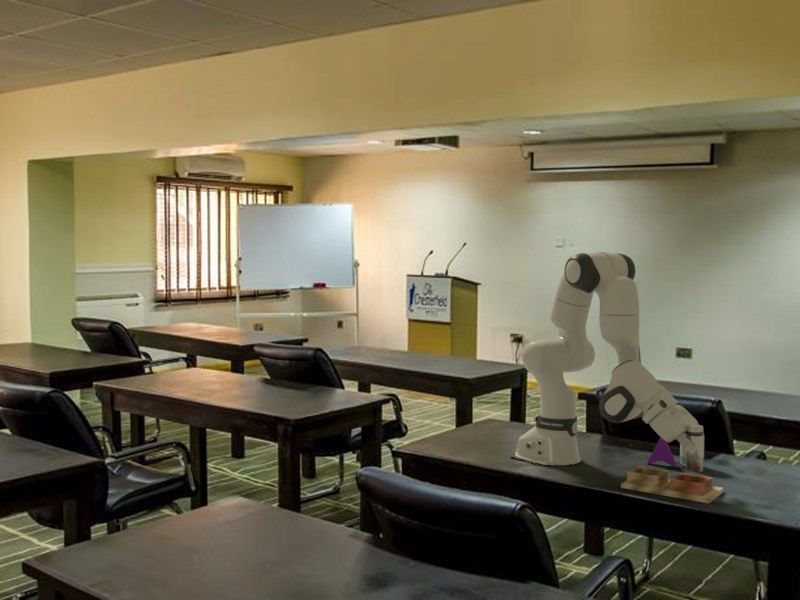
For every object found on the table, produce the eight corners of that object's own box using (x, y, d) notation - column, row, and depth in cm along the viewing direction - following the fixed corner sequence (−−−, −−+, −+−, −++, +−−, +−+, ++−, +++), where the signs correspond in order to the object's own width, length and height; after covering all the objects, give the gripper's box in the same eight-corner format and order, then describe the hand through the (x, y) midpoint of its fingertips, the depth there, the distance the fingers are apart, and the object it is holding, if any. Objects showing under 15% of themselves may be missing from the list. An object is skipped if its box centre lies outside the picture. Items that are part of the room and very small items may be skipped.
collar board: (620, 487, 222) (621, 472, 222) (638, 477, 232) (638, 463, 232) (709, 503, 207) (709, 487, 207) (723, 492, 218) (723, 476, 217)
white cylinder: (683, 470, 215) (683, 426, 214) (688, 466, 218) (688, 423, 218) (700, 472, 212) (700, 428, 212) (705, 469, 216) (705, 425, 215)
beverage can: (675, 466, 245) (676, 428, 244) (686, 462, 249) (687, 425, 248) (696, 471, 239) (697, 432, 239) (707, 467, 244) (708, 428, 243)
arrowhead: (661, 480, 246) (638, 455, 249) (662, 478, 247) (639, 454, 250) (685, 460, 242) (661, 435, 245) (686, 459, 244) (662, 434, 247)
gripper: (665, 409, 230) (699, 446, 224) (639, 420, 214) (676, 461, 208) (680, 395, 227) (715, 433, 222) (656, 405, 211) (693, 446, 205)
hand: (696, 446), depth 215 cm, fingers closed on white cylinder, 4 cm apart
